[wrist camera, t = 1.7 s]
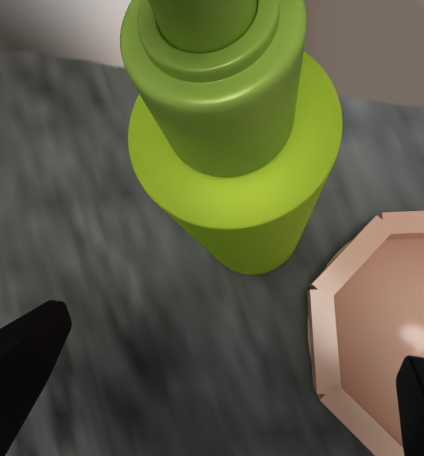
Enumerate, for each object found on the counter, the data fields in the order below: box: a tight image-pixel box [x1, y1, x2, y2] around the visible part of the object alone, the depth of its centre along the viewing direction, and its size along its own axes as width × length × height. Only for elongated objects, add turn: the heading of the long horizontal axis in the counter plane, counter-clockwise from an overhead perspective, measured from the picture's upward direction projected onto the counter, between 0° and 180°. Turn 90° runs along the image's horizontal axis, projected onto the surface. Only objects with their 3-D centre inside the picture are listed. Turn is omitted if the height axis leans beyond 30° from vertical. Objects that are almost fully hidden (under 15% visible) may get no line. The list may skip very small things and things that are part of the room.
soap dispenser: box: [120, 0, 342, 275], centre depth 13 cm, size 6×7×20 cm
